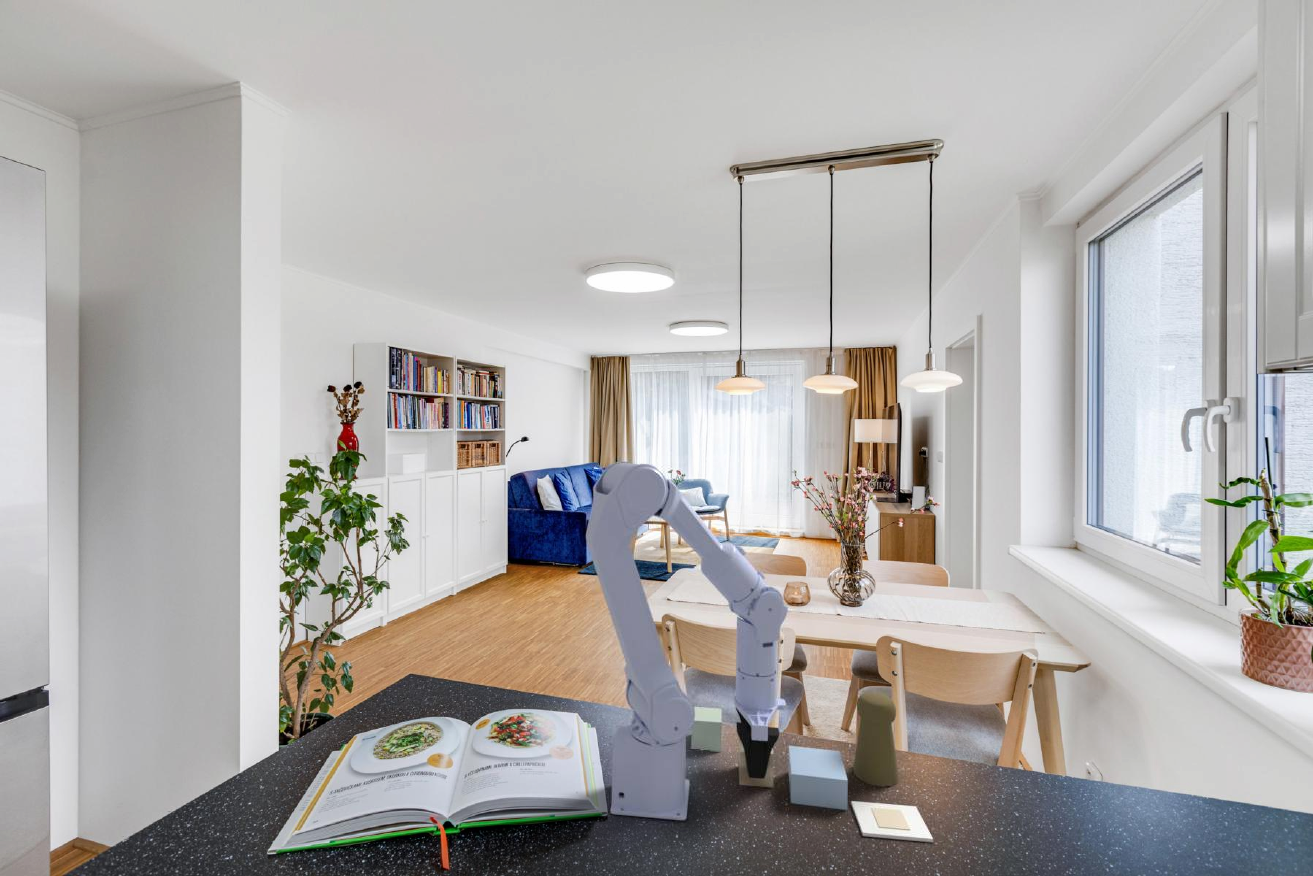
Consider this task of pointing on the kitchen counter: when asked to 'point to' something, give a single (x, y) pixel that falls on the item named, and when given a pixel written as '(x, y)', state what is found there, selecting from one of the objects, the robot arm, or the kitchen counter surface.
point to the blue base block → (817, 778)
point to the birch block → (743, 772)
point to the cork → (876, 741)
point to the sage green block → (707, 729)
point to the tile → (891, 821)
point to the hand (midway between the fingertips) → (755, 766)
